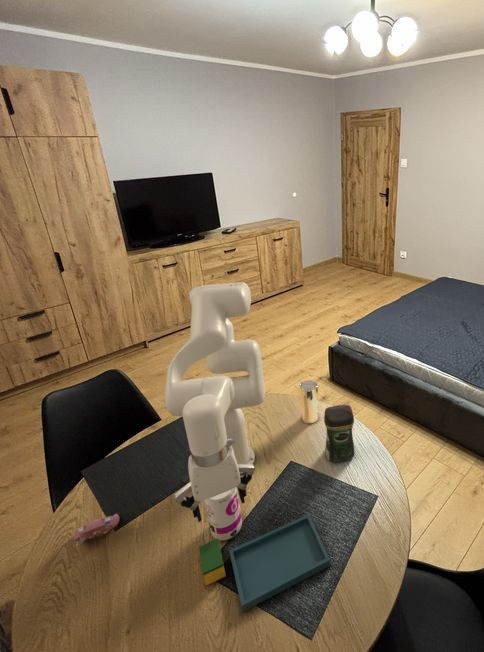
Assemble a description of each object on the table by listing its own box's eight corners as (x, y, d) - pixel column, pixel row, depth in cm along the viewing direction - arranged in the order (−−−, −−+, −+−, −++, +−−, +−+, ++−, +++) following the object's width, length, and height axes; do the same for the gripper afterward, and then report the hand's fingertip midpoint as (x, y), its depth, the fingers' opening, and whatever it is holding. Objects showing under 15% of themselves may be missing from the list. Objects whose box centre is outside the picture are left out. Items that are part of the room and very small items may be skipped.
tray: (230, 556, 93) (229, 550, 92) (309, 519, 102) (308, 514, 101) (242, 612, 82) (241, 606, 81) (330, 565, 90) (330, 559, 89)
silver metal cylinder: (316, 425, 136) (315, 392, 130) (298, 423, 137) (296, 390, 131) (321, 413, 142) (320, 380, 136) (304, 411, 144) (302, 378, 138)
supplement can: (248, 518, 102) (241, 479, 96) (230, 546, 95) (223, 505, 89) (223, 509, 105) (215, 471, 99) (204, 536, 98) (195, 496, 92)
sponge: (201, 558, 92) (198, 546, 91) (220, 550, 94) (218, 538, 92) (206, 585, 87) (202, 573, 85) (225, 576, 88) (223, 564, 87)
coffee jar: (351, 443, 128) (351, 399, 120) (356, 460, 121) (356, 415, 113) (323, 447, 126) (322, 403, 119) (327, 465, 119) (326, 420, 112)
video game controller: (79, 548, 97) (70, 542, 92) (78, 529, 99) (70, 523, 94) (121, 531, 101) (115, 525, 96) (120, 513, 103) (114, 507, 98)
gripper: (246, 425, 85) (253, 480, 91) (164, 453, 77) (179, 510, 84) (254, 447, 78) (262, 504, 85) (167, 478, 71) (182, 538, 78)
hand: (221, 507), depth 84 cm, fingers open, 9 cm apart
